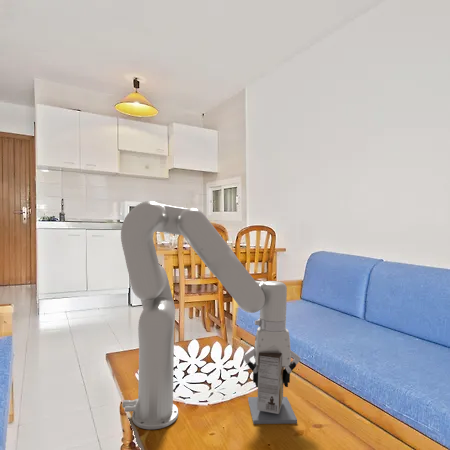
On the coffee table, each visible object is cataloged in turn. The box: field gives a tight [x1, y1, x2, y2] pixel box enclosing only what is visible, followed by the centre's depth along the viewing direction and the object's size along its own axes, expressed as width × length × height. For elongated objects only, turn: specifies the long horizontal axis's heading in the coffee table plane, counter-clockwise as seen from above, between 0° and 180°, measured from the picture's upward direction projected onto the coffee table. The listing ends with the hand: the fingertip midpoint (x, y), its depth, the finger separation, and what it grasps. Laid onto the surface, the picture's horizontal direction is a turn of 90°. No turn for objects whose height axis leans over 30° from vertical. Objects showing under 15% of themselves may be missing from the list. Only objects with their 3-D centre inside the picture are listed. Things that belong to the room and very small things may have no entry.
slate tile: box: [247, 396, 298, 425], centre depth 97 cm, size 12×12×1 cm
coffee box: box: [257, 353, 285, 414], centre depth 96 cm, size 9×6×16 cm
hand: (271, 384), depth 97 cm, fingers closed on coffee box, 7 cm apart
